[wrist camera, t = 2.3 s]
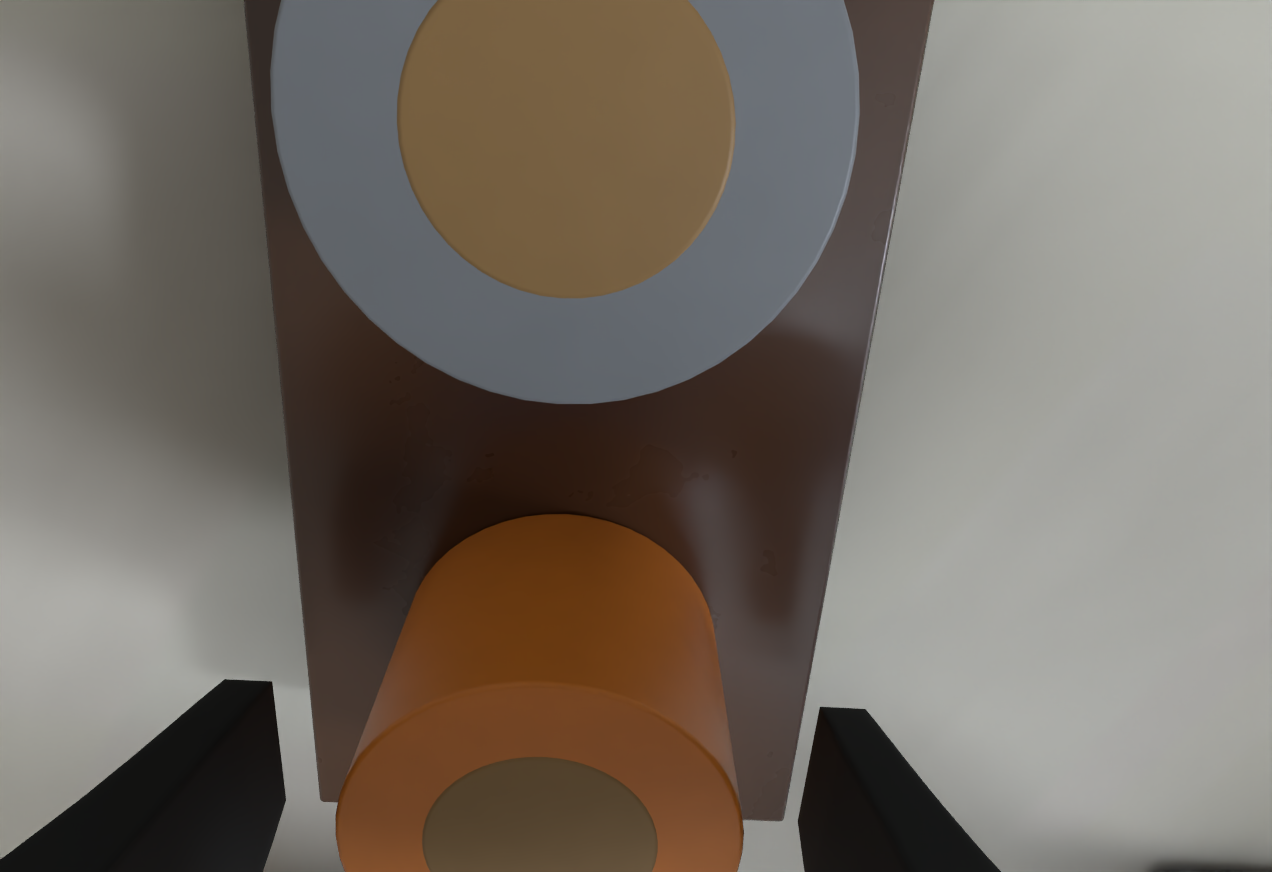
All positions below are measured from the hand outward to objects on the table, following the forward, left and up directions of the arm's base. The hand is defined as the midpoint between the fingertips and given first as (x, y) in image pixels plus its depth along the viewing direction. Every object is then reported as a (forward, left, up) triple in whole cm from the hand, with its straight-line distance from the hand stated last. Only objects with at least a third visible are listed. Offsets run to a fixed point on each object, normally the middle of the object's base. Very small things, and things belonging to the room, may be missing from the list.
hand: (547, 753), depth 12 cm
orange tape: (0, 0, -2) cm, 2 cm away
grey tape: (0, -8, -2) cm, 8 cm away
